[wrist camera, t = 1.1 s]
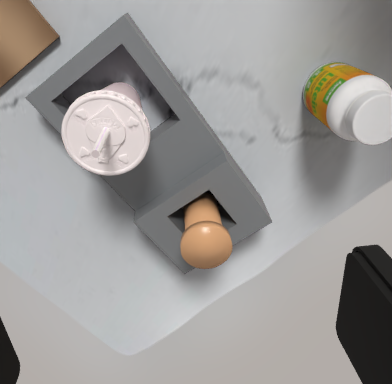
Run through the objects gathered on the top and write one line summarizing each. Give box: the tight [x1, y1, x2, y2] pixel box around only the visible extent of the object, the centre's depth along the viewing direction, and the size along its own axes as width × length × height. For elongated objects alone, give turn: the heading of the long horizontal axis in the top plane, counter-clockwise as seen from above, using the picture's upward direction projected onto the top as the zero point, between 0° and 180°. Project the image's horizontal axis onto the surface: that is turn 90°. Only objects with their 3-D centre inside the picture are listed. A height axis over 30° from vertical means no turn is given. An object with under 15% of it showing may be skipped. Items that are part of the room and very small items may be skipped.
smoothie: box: [61, 82, 150, 176], centre depth 29 cm, size 6×6×14 cm
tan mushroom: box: [180, 193, 232, 269], centre depth 35 cm, size 5×5×7 cm
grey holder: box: [26, 13, 272, 274], centre depth 35 cm, size 11×23×5 cm, turn 35°
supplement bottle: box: [303, 62, 392, 145], centre depth 31 cm, size 5×5×10 cm
